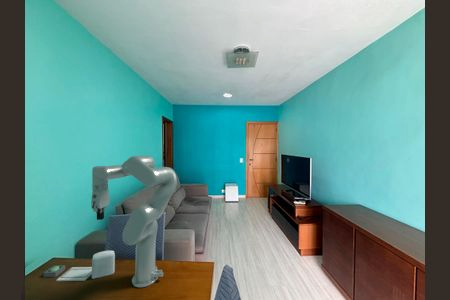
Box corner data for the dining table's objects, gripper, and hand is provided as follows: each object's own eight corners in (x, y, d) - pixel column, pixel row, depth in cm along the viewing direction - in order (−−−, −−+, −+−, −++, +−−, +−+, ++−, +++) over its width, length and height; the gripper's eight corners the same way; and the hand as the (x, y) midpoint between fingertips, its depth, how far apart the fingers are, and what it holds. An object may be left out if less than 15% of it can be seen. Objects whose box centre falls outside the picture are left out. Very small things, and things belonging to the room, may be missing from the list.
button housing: (65, 269, 101) (65, 265, 101) (55, 277, 95) (55, 272, 95) (54, 269, 101) (54, 265, 101) (43, 277, 95) (43, 272, 95)
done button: (61, 270, 100) (61, 265, 100) (55, 274, 96) (55, 270, 96) (54, 270, 100) (54, 266, 100) (48, 274, 96) (48, 270, 96)
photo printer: (115, 269, 101) (115, 247, 101) (114, 274, 97) (114, 251, 98) (92, 275, 97) (92, 251, 97) (90, 280, 93) (91, 256, 93)
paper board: (97, 267, 103) (97, 266, 103) (84, 280, 93) (84, 279, 93) (72, 268, 102) (72, 267, 102) (56, 281, 92) (56, 279, 92)
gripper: (98, 190, 98) (98, 224, 98) (114, 184, 113) (114, 214, 113) (84, 190, 98) (84, 224, 98) (101, 185, 113) (101, 214, 113)
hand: (100, 219), depth 105 cm, fingers closed
